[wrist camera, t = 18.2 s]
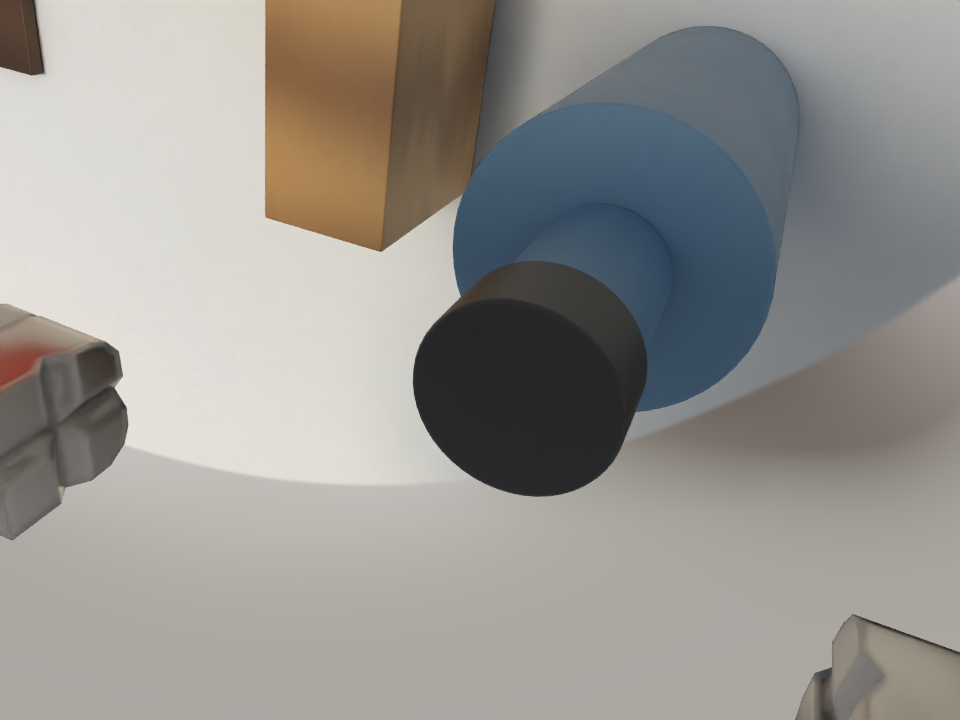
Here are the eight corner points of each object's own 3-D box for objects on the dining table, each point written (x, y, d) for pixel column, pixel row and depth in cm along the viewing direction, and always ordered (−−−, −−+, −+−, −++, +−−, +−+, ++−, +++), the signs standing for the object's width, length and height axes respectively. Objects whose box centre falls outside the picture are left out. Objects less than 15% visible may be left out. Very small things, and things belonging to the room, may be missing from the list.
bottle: (724, 205, 29) (1140, 588, 14) (364, 175, 26) (401, 605, 11) (781, 29, 26) (1394, 277, 11) (378, -26, 23) (454, 202, 8)
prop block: (469, 189, 29) (381, 252, 23) (372, 162, 30) (264, 217, 24) (503, -55, 25) (406, -50, 19) (389, -77, 26) (264, -78, 20)
